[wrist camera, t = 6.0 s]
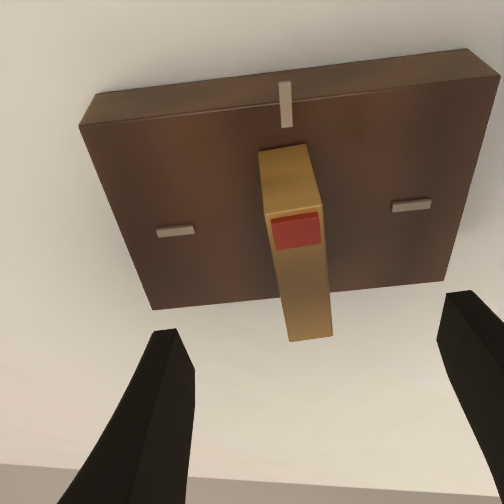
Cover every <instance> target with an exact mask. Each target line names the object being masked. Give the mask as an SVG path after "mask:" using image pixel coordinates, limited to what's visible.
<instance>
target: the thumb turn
mask: <svg viewBox="0 0 504 504" xmlns="http://www.w3.org/2000/svg"><path fill="white" fill-rule="evenodd" d="M258 158H259V168H260V178H261V188H262V198H263V208H264V216H265V221H266V226H267V232H268V237H269V242H270V247H271V252H272V257H273V262H274V267H275V272H276V277H277V282H278V287H279V292H280V297H281V302H282V307H283V313H284V318H285V323H286V328H287V333H288V338H289V341H290V342H294V341H301V340H309V339H316V338H323V337H330V336H333V328H332V316H331V303H330V291H329V279H328V266H327V254H326V242H325V229H324V217H323V205H322V201H321V197H320V194H319V190H318V186H317V183H316V179H315V175H314V171H313V168H312V164H311V160H310V157H309V153H308V149H307V145H306V144H300V145H294V146H288V147H283V148H277V149H271V150H266V151H260V152H258Z"/></svg>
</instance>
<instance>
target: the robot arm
mask: <svg viewBox="0 0 504 504" xmlns="http://www.w3.org/2000/svg"><path fill="white" fill-rule="evenodd" d="M436 340H437V343H438V347H439V350H440V353H441V356H442V360H443V363H444V366H445V369H446V372H447V375H448V377H449V380H450V382H451V384H452V386H453V389H454V391H455V393H456V395H457V398H458V400H459V402H460V404H461V406H462V409H463V411H464V413H465V415H466V417H467V419H468V422H469V424H470V426H471V428H472V430H473V432H474V435H475V437H476V439H477V441H478V443H479V445H480V448H481V450H482V452H483V454H484V456H485V459H486V461H487V464H488V466H489V468H490V471H491V473H492V476H493V478H494V481H495V484H496V487H497V490H498V493H499V496H500V498H501V501H502V504H504V322H503V321H502V320H501V319H500V318H499V317H498V316H497V315H496V314H495V313H494V312H493V311H492V310H491V309H490V308H489V307H488V306H487V305H486V304H485V303H484V302H483V301H482V300H481V299H480V298H479V297H478V296H477V295H476V294H475V293H474V292H473V291H471V290H467V291H460V292H452V293H446V298H445V303H444V307H443V312H442V316H441V321H440V326H439V330H438V335H437V339H436ZM194 410H195V369H194V367H193V364H192V362H191V360H190V358H189V356H188V353H187V351H186V349H185V347H184V345H183V342H182V340H181V338H180V336H179V334H178V331H177V329H176V328H175V329H167V330H159V331H154V332H153V333H152V335H151V337H150V340H149V342H148V344H147V347H146V349H145V351H144V353H143V356H142V358H141V360H140V362H139V364H138V366H137V368H136V371H135V373H134V375H133V377H132V379H131V381H130V383H129V385H128V387H127V389H126V391H125V393H124V395H123V397H122V399H121V401H120V402H119V404H118V406H117V408H116V410H115V412H114V414H113V416H112V417H111V419H110V421H109V423H108V424H107V426H106V428H105V430H104V431H103V433H102V435H101V437H100V438H99V440H98V442H97V444H96V445H95V447H94V449H93V450H92V452H91V453H90V455H89V457H88V458H87V460H86V461H85V463H84V465H83V466H82V468H81V469H80V471H79V472H78V474H77V475H76V477H75V478H74V480H73V481H72V483H71V484H70V486H69V487H68V489H67V490H66V492H65V493H64V494H63V496H62V497H61V498H60V500H59V501H58V503H57V504H185V496H186V484H187V475H188V466H189V457H190V448H191V439H192V430H193V420H194Z"/></svg>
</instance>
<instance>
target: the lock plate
mask: <svg viewBox="0 0 504 504" xmlns="http://www.w3.org/2000/svg"><path fill="white" fill-rule="evenodd" d="M500 78H501V77H500V74H498V73H497V72H496V71H495V70H493V69H492V68H491V67H490V66H488V65H487V64H486V63H485V62H484V61H482V60H481V59H480V58H479V57H477V56H476V55H475V54H474V53H472V52H471V51H470V50H469V49H461V50H453V51H444V52H436V53H428V54H420V55H412V56H403V57H395V58H387V59H379V60H371V61H362V62H354V63H346V64H338V65H330V66H321V67H313V68H305V69H297V70H289V71H280V72H272V73H264V74H256V75H248V76H240V77H231V78H223V79H215V80H207V81H199V82H190V83H182V84H174V85H166V86H158V87H149V88H141V89H133V90H125V91H117V92H108V93H100V94H96V95H95V96H94V98H93V100H92V102H91V104H90V106H89V107H88V109H87V111H86V113H85V115H84V116H83V118H82V120H81V122H80V124H79V129H80V132H81V134H82V137H83V139H84V142H85V144H86V147H87V149H88V152H89V154H90V157H91V159H92V162H93V164H94V167H95V169H96V172H97V174H98V177H99V179H100V181H101V184H102V186H103V189H104V191H105V194H106V196H107V199H108V201H109V204H110V206H111V209H112V211H113V214H114V216H115V219H116V221H117V224H118V226H119V229H120V231H121V233H122V236H123V238H124V241H125V243H126V246H127V248H128V251H129V253H130V256H131V258H132V261H133V263H134V266H135V268H136V271H137V273H138V276H139V278H140V281H141V283H142V286H143V288H144V290H145V293H146V295H147V298H148V300H149V303H150V305H151V308H152V310H161V309H171V308H181V307H191V306H201V305H210V304H220V303H230V302H240V301H250V300H260V299H270V298H280V292H279V287H278V282H277V277H276V272H275V267H274V262H273V257H272V252H271V247H270V242H269V237H268V232H267V226H266V221H265V216H264V208H263V198H262V188H261V178H260V168H259V158H258V152H260V151H266V150H271V149H277V148H283V147H288V146H294V145H300V144H306V145H307V149H308V153H309V157H310V160H311V164H312V168H313V171H314V175H315V179H316V183H317V186H318V190H319V194H320V197H321V201H322V205H323V217H324V229H325V242H326V254H327V266H328V279H329V291H330V292H340V291H350V290H360V289H369V288H379V287H389V286H399V285H409V284H419V283H429V282H439V281H444V278H445V274H446V271H447V267H448V264H449V260H450V256H451V253H452V249H453V246H454V242H455V239H456V235H457V231H458V228H459V224H460V221H461V217H462V214H463V210H464V206H465V203H466V199H467V196H468V192H469V189H470V185H471V181H472V178H473V174H474V171H475V167H476V164H477V160H478V156H479V153H480V149H481V146H482V142H483V138H484V135H485V131H486V128H487V124H488V121H489V117H490V113H491V110H492V106H493V103H494V99H495V96H496V92H497V88H498V85H499V81H500Z"/></svg>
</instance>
